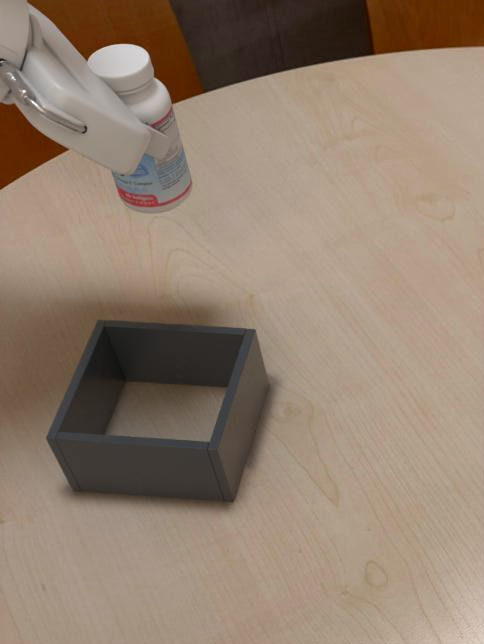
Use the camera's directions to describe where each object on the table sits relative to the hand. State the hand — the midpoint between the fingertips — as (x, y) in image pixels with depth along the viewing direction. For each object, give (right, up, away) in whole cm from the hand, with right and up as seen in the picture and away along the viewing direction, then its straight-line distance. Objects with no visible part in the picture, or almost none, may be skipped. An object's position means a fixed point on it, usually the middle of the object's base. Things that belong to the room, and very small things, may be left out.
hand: (144, 124), depth 84 cm
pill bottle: (0, -4, +5) cm, 6 cm away
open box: (+1, -24, +8) cm, 25 cm away
